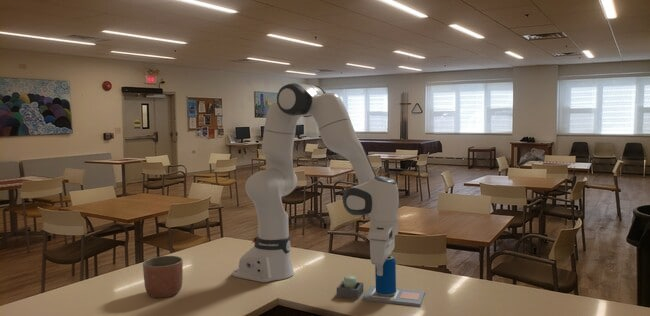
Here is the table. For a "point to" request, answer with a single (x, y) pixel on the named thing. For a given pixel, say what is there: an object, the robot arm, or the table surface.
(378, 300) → the picture board
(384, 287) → the beverage can
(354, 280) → the button
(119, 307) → the table surface
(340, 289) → the button housing
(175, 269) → the planter
